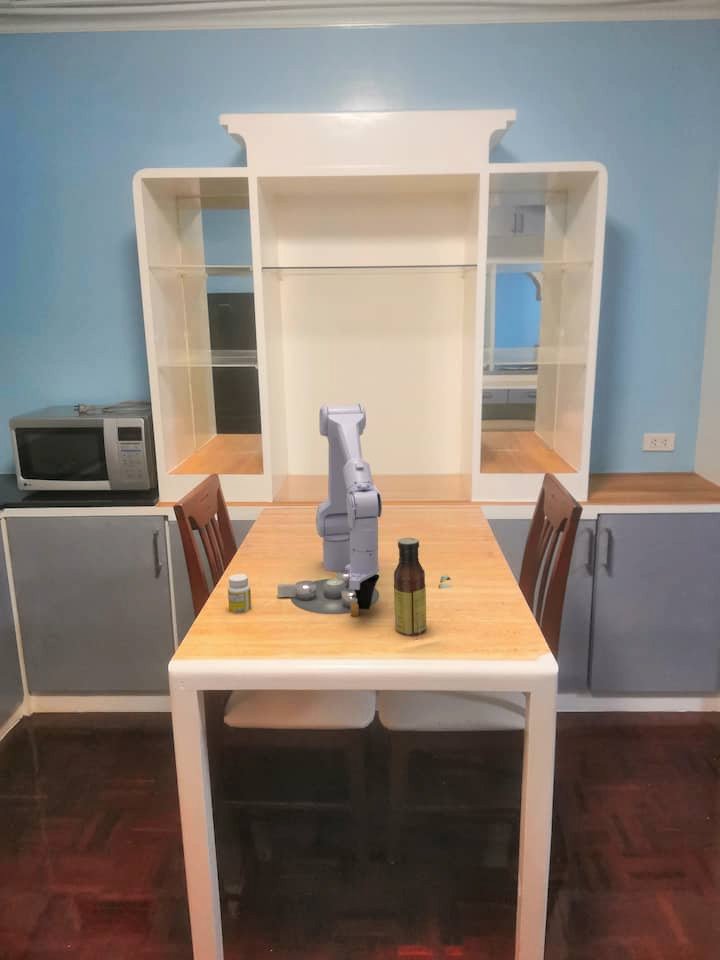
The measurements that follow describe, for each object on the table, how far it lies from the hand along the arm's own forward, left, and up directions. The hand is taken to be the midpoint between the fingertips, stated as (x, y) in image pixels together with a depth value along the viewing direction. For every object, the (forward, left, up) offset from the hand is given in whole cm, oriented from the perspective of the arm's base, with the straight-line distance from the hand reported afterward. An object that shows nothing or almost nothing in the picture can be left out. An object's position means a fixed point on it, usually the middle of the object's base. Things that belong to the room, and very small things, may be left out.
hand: (364, 608), depth 139 cm
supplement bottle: (+8, -26, -2) cm, 27 cm away
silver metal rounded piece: (-2, -17, -1) cm, 17 cm away
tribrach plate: (-6, -10, -2) cm, 12 cm away
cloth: (-26, +3, -3) cm, 26 cm away
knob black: (-13, -8, -1) cm, 15 cm away
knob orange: (-1, -3, -1) cm, 3 cm away
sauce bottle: (+4, +11, -2) cm, 12 cm away
